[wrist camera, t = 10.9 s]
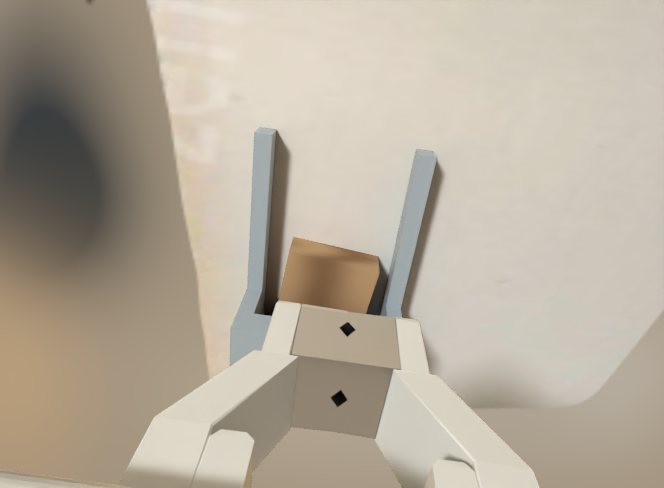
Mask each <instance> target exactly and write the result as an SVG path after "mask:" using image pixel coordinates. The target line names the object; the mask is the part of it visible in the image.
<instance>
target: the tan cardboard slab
mask: <svg viewBox="0 0 664 488" xmlns="http://www.w3.org/2000/svg"><path fill="white" fill-rule="evenodd" d="M379 273H380V272H379V261H378V257H377V256H373V255H369V254H365V253H360V252H356V251H352V250H347V249H343V248H339V247H335V246H330V245H326V244H322V243H318V242H313V241H309V240H305V239H300V238H296V237H294V238H293V241H292V244H291V248H290V251H289V255H288V260H287V265H286V269H285V274H284V278H283V283H282V288H281V292H280V297H279V300H280V301H287V302H294V303H300V304H301V305H302V304H307V305H313V306H320V307H326V308H332V309H338V310H344V311H348V312H355V313H363V314H366V312H367V309H368V306H369V303H370V300H371V297H372V294H373V291H374V288H375V285H376V282H377V279H378V276H379Z"/></svg>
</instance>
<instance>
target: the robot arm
mask: <svg viewBox="0 0 664 488" xmlns="http://www.w3.org/2000/svg"><path fill="white" fill-rule="evenodd" d="M290 427H295V428H304V429H313V430H322V431H332V432H338V433H344V434H350V435H356V436H362V437H368V438H374V439H375V441H376V443H377V445H378V447H379V448H380V450H381V452H382V454H383V455H384V457H385V459H386V460H387V462H388V464H389V465H390V467H391V469H392V471H393V472H394V474H395V476H396V477H397V479H398V481H399V483H400V484H401V486H402V488H540V487H539V485H538V482H537V480H536V477H535V474H534V472H533V470H532V469H531V468H530V467H529V466H528V465H527V464H526V463H525V462H524V461H523V460H522V459H521V458H520V457H519V456H518V455H517V454H516V453H515V452H514V451H513V450H512V449H511V448H510V447H509V446H508V445H507V444H506V443H505V442H504V441H503V440H502V439H501V438H500V437H499V436H498V435H497V434H496V433H495V432H494V431H493V430H492V429H491V428H490V427H489V426H488V425H487V424H486V423H485V422H484V421H483V420H482V419H481V418H480V417H479V416H478V415H477V414H476V413H475V412H474V411H473V410H472V409H471V408H470V407H469V406H468V405H467V404H466V403H465V402H464V401H463V400H462V399H461V398H460V397H459V396H458V395H457V394H456V393H455V392H454V391H453V390H452V389H451V388H450V387H449V386H448V385H447V384H446V383H445V382H444V381H443V380H442V379H441V378H440V377H439V376H437V375H431V374H430V370H429V365H428V360H427V355H426V350H425V346H424V341H423V336H422V331H421V326H420V322H419V321H418V320H417V319H409V318H400V317H394V318H393V317H386V316H378V315H370V314H363V313H355V312H348V311H344V310H338V309H332V308H326V307H320V306H313V305H307V304H302V305H301V304H300V303H294V302H287V301H280V300H278V302H277V303H276V305H275V308H274V311H273V315H272V318H271V321H270V324H269V328H268V331H267V334H266V338H265V341H264V344H263V347H262V351H258V350H254V351H252V352H251V353H249V354H248V355H246V356H245V357H243V358H242V359H240V360H239V361H237V362H236V363H234V364H233V365H231V366H230V367H228V368H227V369H225V370H224V371H222V372H221V373H219V374H218V375H216V376H215V377H213V378H212V379H210V380H209V381H207V382H206V383H204V384H203V385H201V386H200V387H198V388H197V389H195V390H194V391H192V392H191V393H190V394H188V395H187V396H185V397H184V398H182V399H181V400H179V401H178V402H176V403H175V404H173V405H172V406H170V407H169V408H167V409H166V410H164V411H163V412H161V413H160V414H158V415H157V416H155V417H154V419H153V420H152V422H151V424H150V426H149V428H148V430H147V432H146V434H145V435H144V438H143V439H142V441H141V443H140V445H139V447H138V449H137V450H136V452H135V454H134V456H133V458H132V460H131V462H130V464H129V465H128V467H127V469H126V471H125V473H124V475H123V477H122V479H121V480H120V483H119V484H118V485H112V484H105V483H98V482H91V481H83V480H76V479H69V478H62V477H54V476H47V475H39V474H32V473H25V472H18V471H11V470H3V469H0V488H251V484H252V472H253V471H254V470H255V469H256V468H257V466H258V465H259V464H260V463H261V462H262V461H263V460H264V458H265V457H266V456H267V455H268V454H269V453H270V452H271V451H272V450H273V448H274V447H275V446H276V445H277V444H278V443H279V442H280V440H281V439H282V438H283V437H284V436H285V435H286V434H287V433H288V431H289V430H290Z"/></svg>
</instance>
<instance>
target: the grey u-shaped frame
mask: <svg viewBox="0 0 664 488" xmlns="http://www.w3.org/2000/svg"><path fill="white" fill-rule="evenodd" d="M275 143H276V130H275V129H268V128H261V127H260V128H259V129H258V130H257V131H256V132H255V133H254V153H253V175H252V197H251V219H250V241H249V263H248V285H247V290H246V293H245V295H244V297H243V300H242V302H241V305H240V307H239V310H238V312H237V314H236V317H235V319H234V322H233V324H232V326H231V337H230V366H231V365H233V364H234V363H236V362H237V361H239V360H240V359H242V358H243V357H245V356H246V355H248V354H249V353H251V352H252V351H254V350H258V351H262V347H263V344H264V341H265V338H266V334H267V331H268V328H269V324H270V321H271V318H272V316H269V315H264V304H265V290H266V275H267V260H268V246H269V231H270V216H271V201H272V187H273V172H274V157H275ZM436 160H437V157H436V155H435V154H434V152H433V151H427V150H419V149H416V152H415V157H414V162H413V166H412V171H411V175H410V180H409V185H408V189H407V194H406V198H405V203H404V208H403V212H402V217H401V221H400V226H399V231H398V235H397V240H396V244H395V249H394V254H393V258H392V263H391V267H390V272H389V277H388V281H387V286H386V290H385V295H384V300H383V304H382V309H381V314H380V316H386V317H393V318H394V317H400V318H402V313H401V305H402V301H403V297H404V293H405V289H406V285H407V281H408V276H409V272H410V268H411V264H412V260H413V256H414V252H415V247H416V243H417V239H418V235H419V231H420V227H421V223H422V218H423V214H424V210H425V206H426V202H427V198H428V194H429V189H430V185H431V181H432V177H433V173H434V169H435V165H436Z"/></svg>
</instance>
